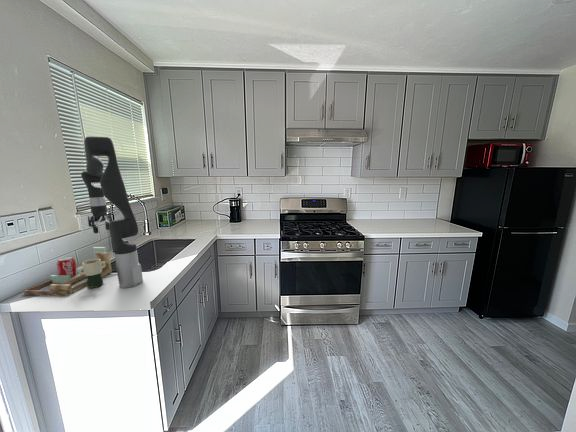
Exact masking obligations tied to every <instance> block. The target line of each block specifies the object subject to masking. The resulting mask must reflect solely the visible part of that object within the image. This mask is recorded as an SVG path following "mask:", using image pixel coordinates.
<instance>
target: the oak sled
mask: <svg viewBox="0 0 576 432" xmlns="http://www.w3.org/2000/svg"><path fill="white" fill-rule="evenodd" d="M95 255H96V259H101V262H103V261H105V264H106V267H104V268H102V272H101V273H100V274H101V276H102V278H103V277H105V276H107V275H109V274H111V273H113V269H112V264H111V257H110V252H106V253H101V252H97V253H95ZM102 266H103V263H102ZM108 273H109V274H108ZM87 277H88V276H86V275H85V274H82V275H80V276H78V277H76V278H73V279H71V280H69V281H67V282H65V283H62V284H60V283H52V284H50V285H48V286H49V291H68V294H69V295H70V294H72V293H74V292H76V291H77V290H81V289H82V288H84V287H85V286H86V287H87V280H85V281H83V282H80V283H78V282H79V281H81V280H83V279H85V278H87ZM75 283H78V284H76V285H74V286H72V284H75Z"/></svg>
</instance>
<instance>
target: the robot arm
mask: <svg viewBox="0 0 576 432" xmlns="http://www.w3.org/2000/svg"><path fill="white" fill-rule="evenodd" d="M83 142H84V143H83V144H84V145H83V147H84V153H85V158H86V168H85V169H86V170H83V171H82V172H81V173H80V175H81V179H82V180H83V182H84V184H85V187H86V188H87V191H88V192H87V193H88V199H89V200H88V201H89V208H90V213H91V214H92V215H91V216H90V215H88V216H87V223H88V227H89V228H90V227H91V228H92V230H93V233H94V234H99V227H98V226H99V224H100V223H102V222H103V223H105V224H104V225H105V230H107V231H109V234H110V239H111V245H112V248H113V255H114V259H115V260H114V261H115V267H116V272H117V273H116V274H117V280H118V285H119V288H121V289H126V288H132V287H133V288H135V287H137V286H138V285H140V284H141V283H143V282H144V278H143V270H142V265H141V263H139V256H138V249H137V244H135V243H133V242H124V241H123V239H126V238H131V237H135V236H137V235H138V233H139V225H138V223H137V220H136V217H135V215H134V213H133V210H132V208H131V204H130V201H129V198H128V194H127V190H126V186H125V183H124V179H123V177H122V173H121V171H120V168H119V163H118V159H117V154H116V150H115V146H114V143H113V140H112V138H110V137H108V136H93V135H89V136H86V137H85V138H84V141H83ZM99 157H107V160H108V161H107V164H106V167H105V169H104V162H103V161H102V159H101V158H99ZM93 183H95V184H100V186H95V185H93ZM106 199H107V200H108V201H109V202H110V203H111V204H112V205H114V206H115V208H117V209H118V210H119V211H120V212H121V214H122V216H123V219H122V218H121V219H114V220H113V216H112V213H111V212H108V207H107V202H106V201H107V200H106Z"/></svg>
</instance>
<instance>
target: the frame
mask: <svg viewBox="0 0 576 432" xmlns="http://www.w3.org/2000/svg"><path fill="white" fill-rule="evenodd" d="M51 284H53V283H52V282H51V278H50V279H48V280H46V281H43V282H42V283H39V284H37V285H34V286H31V287H29V288H26V289H25V290H24V289H23V294H24V296H47V295H49V296H50V297H51V296H52V297H69V295H70V294H68V291H51V290H42V289H43V288H45V287H47V286H49V285H51ZM49 296H48V297H49Z"/></svg>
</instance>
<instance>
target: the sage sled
mask: <svg viewBox="0 0 576 432" xmlns="http://www.w3.org/2000/svg"><path fill="white" fill-rule="evenodd" d="M92 252H93V259H96V255H95V253H97V252H101V253H107V249H106V246H93V247H92ZM82 267H83V266H80V267H78V268H77V267H76V268H77V273H78V275H77V276H75V277H73V278H76V277H78V276H80V274H79V268H82ZM81 271H83V269H82V270H81ZM49 276H50V279H51V282H52V284H62V283H65V282H67V281H69V280H71V279H73V278H70V275H59V274H52V275H49Z"/></svg>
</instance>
